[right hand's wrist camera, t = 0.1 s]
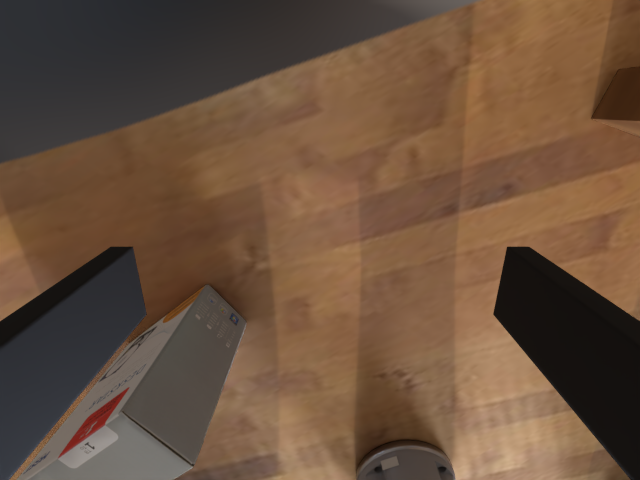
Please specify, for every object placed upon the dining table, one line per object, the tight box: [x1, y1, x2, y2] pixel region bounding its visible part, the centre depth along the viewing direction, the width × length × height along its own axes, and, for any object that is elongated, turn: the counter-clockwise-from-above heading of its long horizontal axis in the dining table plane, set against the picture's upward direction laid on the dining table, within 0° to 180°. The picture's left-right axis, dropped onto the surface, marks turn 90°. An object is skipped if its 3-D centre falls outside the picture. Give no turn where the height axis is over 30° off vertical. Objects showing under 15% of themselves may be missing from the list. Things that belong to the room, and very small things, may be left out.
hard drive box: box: [17, 284, 247, 480], centre depth 37 cm, size 16×8×20 cm, turn 128°
